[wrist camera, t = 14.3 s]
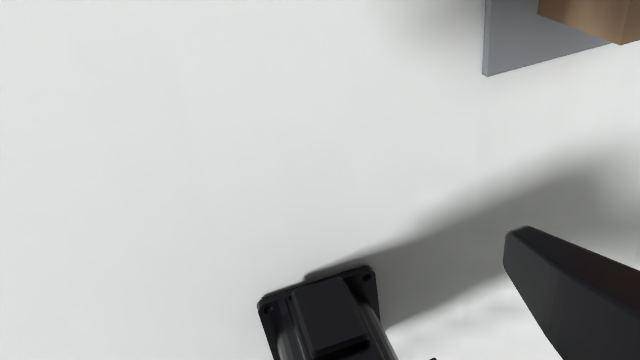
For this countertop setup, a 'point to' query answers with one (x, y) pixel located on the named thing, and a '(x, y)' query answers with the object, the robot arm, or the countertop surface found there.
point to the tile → (527, 37)
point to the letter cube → (597, 17)
